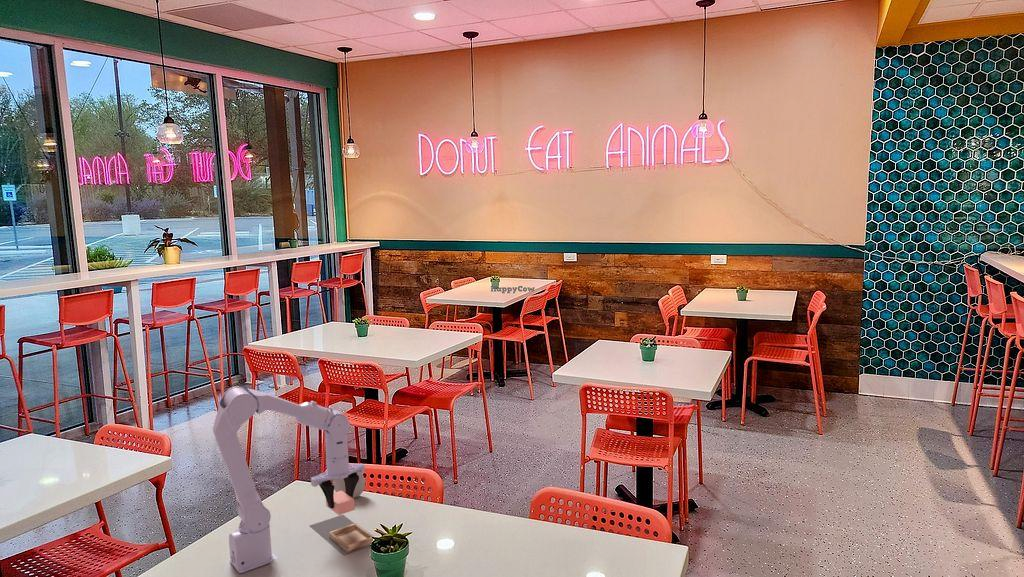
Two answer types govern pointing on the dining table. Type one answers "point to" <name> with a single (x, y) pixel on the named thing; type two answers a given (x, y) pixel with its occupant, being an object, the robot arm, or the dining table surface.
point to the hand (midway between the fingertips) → (340, 504)
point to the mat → (331, 525)
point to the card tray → (351, 537)
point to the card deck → (342, 503)
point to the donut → (358, 489)
